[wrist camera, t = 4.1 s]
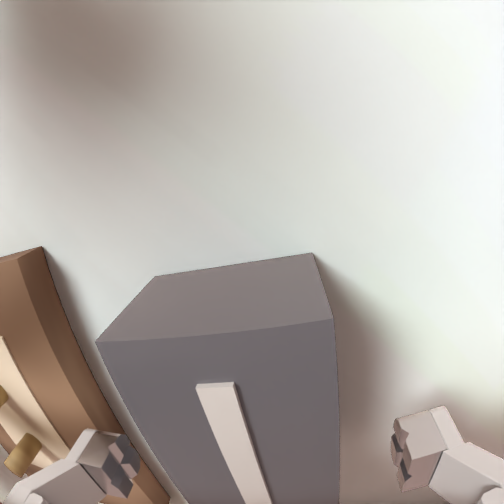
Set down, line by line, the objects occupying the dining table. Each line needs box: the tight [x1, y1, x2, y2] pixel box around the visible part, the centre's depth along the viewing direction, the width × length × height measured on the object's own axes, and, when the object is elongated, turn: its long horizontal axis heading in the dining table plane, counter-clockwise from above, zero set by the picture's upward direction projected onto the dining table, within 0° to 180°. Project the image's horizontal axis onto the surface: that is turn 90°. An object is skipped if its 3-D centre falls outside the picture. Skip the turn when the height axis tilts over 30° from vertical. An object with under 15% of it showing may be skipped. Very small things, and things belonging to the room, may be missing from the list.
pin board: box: [0, 246, 170, 504], centre depth 11 cm, size 16×12×4 cm
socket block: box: [95, 253, 340, 504], centre depth 9 cm, size 8×5×4 cm, turn 11°
